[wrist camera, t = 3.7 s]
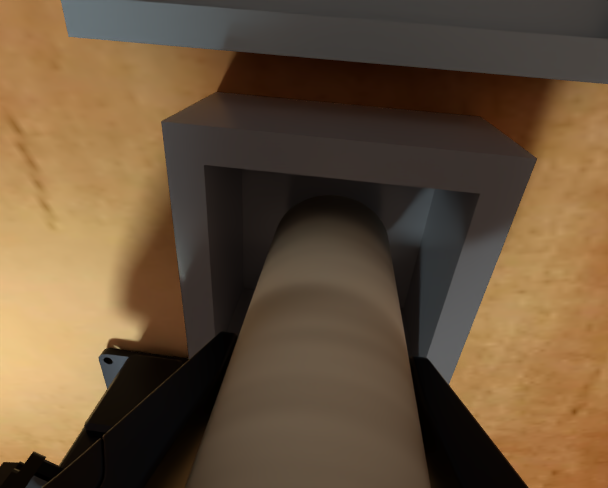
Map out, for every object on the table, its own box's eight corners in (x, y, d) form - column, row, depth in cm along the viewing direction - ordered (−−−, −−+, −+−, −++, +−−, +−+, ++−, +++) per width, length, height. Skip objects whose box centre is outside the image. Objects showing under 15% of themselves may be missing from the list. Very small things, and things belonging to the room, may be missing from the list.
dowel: (378, 299, 14) (419, 717, 6) (272, 286, 15) (159, 671, 6) (399, 201, 12) (511, 623, 4) (276, 188, 13) (112, 558, 4)
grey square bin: (420, 320, 17) (439, 406, 14) (225, 296, 18) (190, 373, 14) (480, 116, 13) (537, 158, 9) (216, 92, 13) (161, 121, 9)
